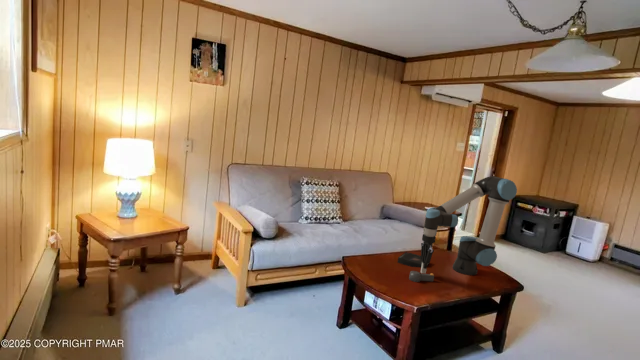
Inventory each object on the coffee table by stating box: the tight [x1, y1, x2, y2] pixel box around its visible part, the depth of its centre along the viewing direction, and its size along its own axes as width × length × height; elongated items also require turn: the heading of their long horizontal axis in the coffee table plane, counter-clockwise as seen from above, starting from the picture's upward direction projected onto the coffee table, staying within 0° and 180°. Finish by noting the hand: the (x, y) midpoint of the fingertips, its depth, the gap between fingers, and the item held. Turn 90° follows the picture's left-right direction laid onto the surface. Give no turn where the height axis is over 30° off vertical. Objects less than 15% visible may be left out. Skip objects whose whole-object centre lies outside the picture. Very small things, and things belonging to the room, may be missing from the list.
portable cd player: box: [396, 251, 429, 268], centre depth 237 cm, size 16×17×4 cm
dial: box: [408, 270, 435, 283], centre depth 205 cm, size 14×6×4 cm, turn 97°
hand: (423, 272), depth 213 cm, fingers closed
